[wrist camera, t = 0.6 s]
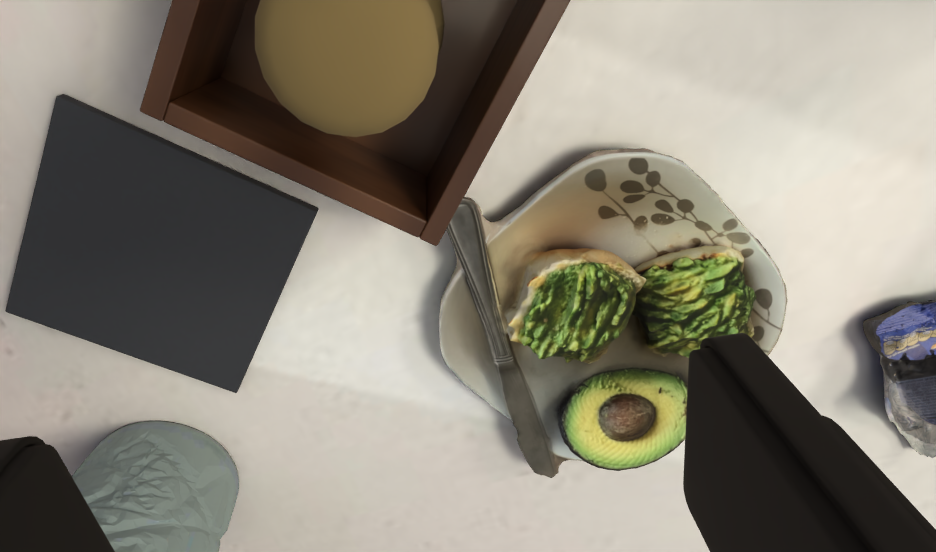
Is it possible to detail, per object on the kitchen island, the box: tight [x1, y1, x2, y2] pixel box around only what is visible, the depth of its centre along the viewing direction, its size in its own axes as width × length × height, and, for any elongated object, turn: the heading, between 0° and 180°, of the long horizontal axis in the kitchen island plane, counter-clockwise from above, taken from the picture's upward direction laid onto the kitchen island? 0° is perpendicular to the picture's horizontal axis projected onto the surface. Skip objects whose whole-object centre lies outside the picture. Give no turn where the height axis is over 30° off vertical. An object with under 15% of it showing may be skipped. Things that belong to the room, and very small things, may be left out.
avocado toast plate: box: [439, 149, 787, 478], centre depth 31 cm, size 19×18×5 cm
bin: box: [140, 0, 570, 246], centre depth 23 cm, size 12×12×7 cm
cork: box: [255, 0, 445, 137], centre depth 21 cm, size 6×6×11 cm
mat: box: [6, 94, 318, 393], centre depth 30 cm, size 12×12×1 cm
